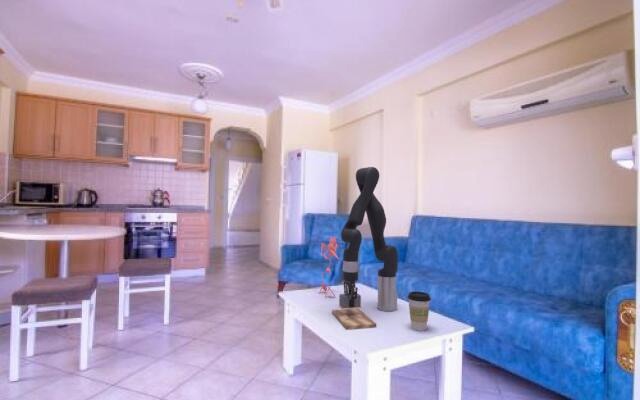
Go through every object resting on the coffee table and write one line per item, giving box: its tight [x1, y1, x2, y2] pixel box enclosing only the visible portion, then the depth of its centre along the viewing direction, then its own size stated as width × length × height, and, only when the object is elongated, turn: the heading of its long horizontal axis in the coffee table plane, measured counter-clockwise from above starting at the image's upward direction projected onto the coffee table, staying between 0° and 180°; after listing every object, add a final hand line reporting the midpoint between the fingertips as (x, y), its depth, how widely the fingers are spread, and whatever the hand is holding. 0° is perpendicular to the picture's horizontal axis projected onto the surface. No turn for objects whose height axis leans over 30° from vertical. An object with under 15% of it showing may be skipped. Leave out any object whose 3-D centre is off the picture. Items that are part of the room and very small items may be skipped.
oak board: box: [331, 309, 377, 331], centre depth 154 cm, size 14×22×2 cm, turn 14°
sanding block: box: [338, 292, 362, 310], centre depth 158 cm, size 10×5×6 cm, turn 104°
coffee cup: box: [407, 291, 432, 332], centre depth 145 cm, size 10×10×15 cm
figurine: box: [318, 236, 340, 298], centre depth 198 cm, size 15×26×35 cm, turn 22°
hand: (349, 305), depth 158 cm, fingers closed on sanding block, 4 cm apart
